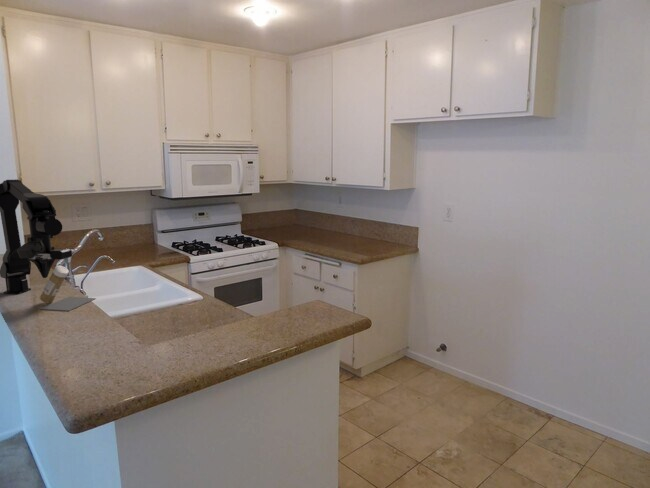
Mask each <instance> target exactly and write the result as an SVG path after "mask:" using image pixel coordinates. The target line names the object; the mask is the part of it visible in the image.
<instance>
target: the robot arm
mask: <svg viewBox="0 0 650 488" xmlns="http://www.w3.org/2000/svg"><path fill="white" fill-rule="evenodd" d="M20 202H21V204H22V205H21V206H22V209H23V211H24V213H25V214H26V215H27V217H26V219H27V220H28V225H29V234H30V236H29V237H27V239H26V240H27V241H26V243H23V244H21V237H20V229H19V224H18V218H17V212H16V210H17V208H18V206H19V204H20ZM56 216H57V210H56V209H55V207H54V206H53V204H52V201H51V200H50V199H49V198H48V197H47V195H44V194H41V193H35V192H33V191H32V190H31V189H30V188H29V187H27V186H26V185H24V184H23V182H22V180H21V179H5V180H3V181H2V182H1V183H0V218H1V219H0V220H1V225H2V231H3V232H2V233H3V236H4V243H5V249H6V250H5V252H4V254H3V256H2V264H1V267H0V278H3V279H4V280H5V286H6V290H5V291H3V294H13V295H15V294H16V295H18V294H22V293H24V292H28V291H30V290H32V288H31V287H29V283H28V279H27V275H31V270H32V263H33V264H34V265H35V266H36V268H37V269H38V271H39V274H41V277H42V278H43V279H46V278H48V276H49V273H50V271H51V269H52V266H53V264H54V262H55V261H56V260H64V259H68V258H71V257H73V251H72V250H71V249H70V248H57V249H55V246H52V241H51V239H54V236H58V235H59V234H60V233H62V231H63V224H62V222H61V221H60V220H59V219H57V218H56Z"/></svg>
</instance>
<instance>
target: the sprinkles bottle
mask: <svg viewBox="0 0 650 488" xmlns="http://www.w3.org/2000/svg"><path fill="white" fill-rule="evenodd" d="M69 273H70V271H69V269H68V267H65V266H64V265H55V267H54V268H53V270H52V273H51V275H50V277H49V278H48V280H47V282H46V284H45V286H44V288H43V290H42V293H41V295H39V300H40V301H41V302H43V303H46V304H52V303H54V301H55V298H56V296H57V295H58V292H59V291H60V289H61V287H62V285H63V282H64V280H65V279H66V277H67V276H68V274H69Z"/></svg>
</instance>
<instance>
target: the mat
mask: <svg viewBox="0 0 650 488" xmlns="http://www.w3.org/2000/svg"><path fill="white" fill-rule="evenodd" d="M95 300H97V298H95V297H79V296H78V297H76V296H66V297H64V298H62V299H60V300H57V301H55V302H52V303H49V304H48V305H45V306H42V307H40V308H39V310H40V311H42V310H43V311H57V312H58V311H59V312H72V311H73V310H75V309H77V308H79V307H82V306H83V305H86V304H88V303H91V302H93V301H95Z"/></svg>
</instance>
